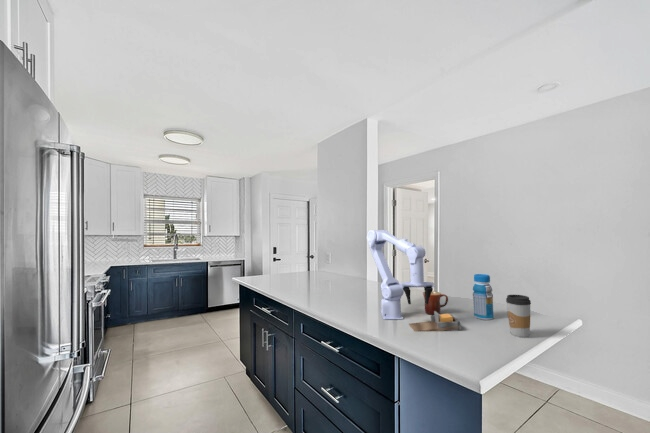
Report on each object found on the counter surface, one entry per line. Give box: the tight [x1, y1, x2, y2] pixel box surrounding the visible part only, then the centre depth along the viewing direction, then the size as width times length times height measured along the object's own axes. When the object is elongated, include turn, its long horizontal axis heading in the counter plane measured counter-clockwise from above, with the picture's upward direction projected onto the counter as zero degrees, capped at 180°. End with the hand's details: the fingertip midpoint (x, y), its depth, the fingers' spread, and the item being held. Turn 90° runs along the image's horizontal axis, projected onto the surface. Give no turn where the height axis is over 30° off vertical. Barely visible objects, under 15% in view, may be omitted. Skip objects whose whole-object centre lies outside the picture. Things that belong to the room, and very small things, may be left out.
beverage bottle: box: [472, 273, 495, 321], centre depth 140 cm, size 8×8×20 cm
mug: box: [422, 291, 449, 316], centre depth 148 cm, size 12×9×10 cm
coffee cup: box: [505, 294, 532, 339], centre depth 117 cm, size 8×8×15 cm
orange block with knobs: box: [433, 311, 454, 323], centre depth 128 cm, size 6×6×5 cm
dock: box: [408, 314, 461, 333], centre depth 128 cm, size 19×10×5 cm, turn 87°
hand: (417, 303), depth 131 cm, fingers open, 7 cm apart
